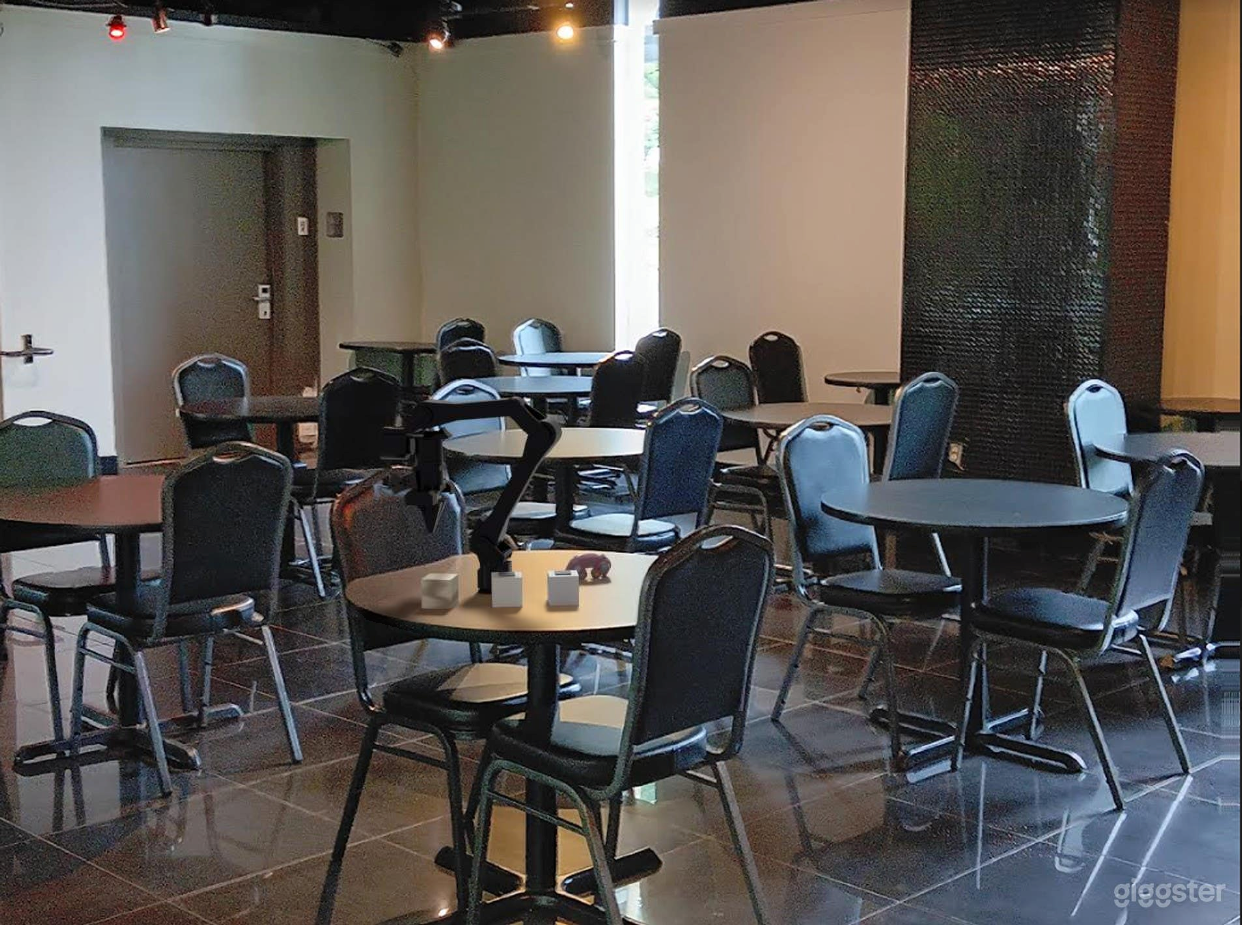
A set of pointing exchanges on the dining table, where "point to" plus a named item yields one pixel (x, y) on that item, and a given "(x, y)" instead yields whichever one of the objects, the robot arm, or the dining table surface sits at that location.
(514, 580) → the off-white numbered cube
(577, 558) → the video game controller
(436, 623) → the dining table surface
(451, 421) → the robot arm
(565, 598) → the grey numbered cube
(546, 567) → the dining table surface
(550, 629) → the dining table surface
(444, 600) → the plain ash cube
